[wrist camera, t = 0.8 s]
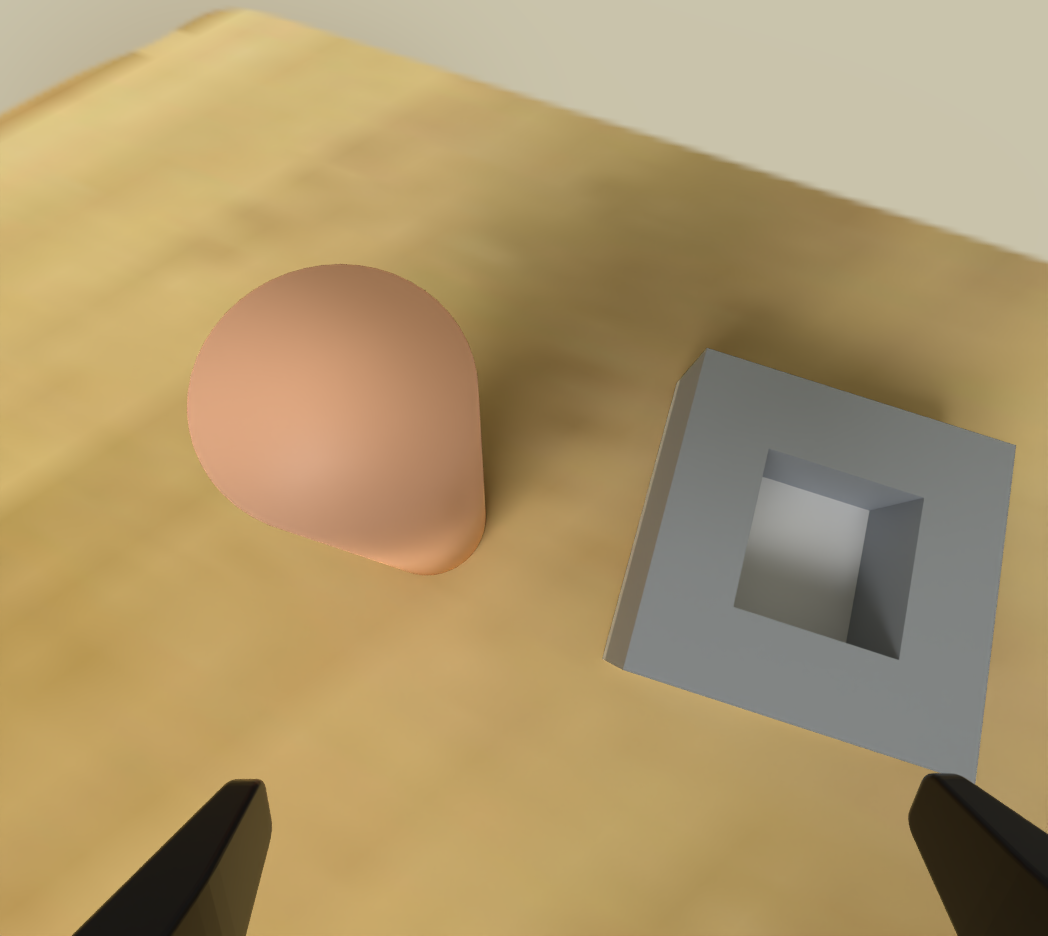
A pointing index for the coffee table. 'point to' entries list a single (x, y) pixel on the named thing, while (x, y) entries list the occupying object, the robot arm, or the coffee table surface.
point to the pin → (345, 416)
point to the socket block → (820, 562)
